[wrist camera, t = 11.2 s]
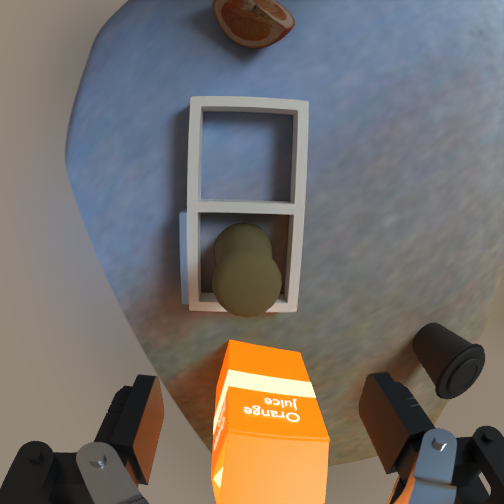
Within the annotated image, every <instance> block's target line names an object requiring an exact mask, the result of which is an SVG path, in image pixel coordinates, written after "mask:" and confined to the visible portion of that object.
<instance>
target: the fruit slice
mask: <svg viewBox="0 0 504 504" xmlns="http://www.w3.org/2000/svg"><path fill="white" fill-rule="evenodd" d="M213 10H214V11H213V12H214V14H215V17H216V20H217V22H218V24H219V26H220V27H221V29H222V30H223V31H224V32H225V34H226V35H227V36H228V37H229V38H230V39H232V40H233V41H234V42H236V43H237V44H239V45H242V46H244V47H249V48H263V47H267V46H270V45H272V44H274V43H276V42H278V41H279V40H281V39H282V38H283V37H285V36H286V35H287V34H288V33H289V32H290V31H291V29H292V28H293V27H294V25H295V21H294V18H293V16H292V15H291V14H290V13H289V11H288V10H287V9H285V8H284V7H283V6H282V5H281V4H279V3H278V2H276V1H275V0H214V2H213Z"/></svg>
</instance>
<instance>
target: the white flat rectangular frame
mask: <svg viewBox="0 0 504 504" xmlns="http://www.w3.org/2000/svg"><path fill="white" fill-rule="evenodd" d="M204 111H223V112H257V113H275V114H288V115H293V143H292V170H291V192H290V202H287V201H262V200H224V199H201V165H202V136H203V114H204ZM308 115H309V101H300V100H290V99H277V98H262V97H237V96H194V97H191V101H190V118H189V140H188V173H187V209H184V210H183V211H181V212H180V213H179V228H180V271H181V294H182V304H188V303H189V311H221V312H228V311H226V310H225V309H224V308H223V307H222V306H221V305H220V304H219V303H218V301H217V299H216V297H215V295H214V293H201V212H223V213H262V214H289V230H288V246H287V261H286V276H285V289H284V294H279V297H278V299H277V300H276V302H275V303H274V305H273V306H272V307H271V308H269V309H268V310H267V311H266V312H297V302H298V291H299V280H300V268H301V256H302V243H303V228H304V213H305V195H306V175H307V151H308Z"/></svg>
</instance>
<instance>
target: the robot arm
mask: <svg viewBox="0 0 504 504" xmlns="http://www.w3.org/2000/svg"><path fill="white" fill-rule="evenodd" d="M418 404H419V403H418V402H417V401H416V399H414V396H413V395H412V394H411V392H410V391H409V389H408V388H406V387H405V386H403V385H402V384H401V383H399V382H396V383H395V382H394V380H393V379H392V377H391V376H390V374H389V373H388V372H381V373H374V374H369V375H368V376H367V379H366V382H365V385H364V388H363V392H362V395H361V398H360V401H359V414H360V417H361V419H362V421H363V424H364V426H365V428H366V430H367V432H368V434H369V436H370V439H371V441H372V443H373V445H374V447H375V449H376V452H377V454H378V456H379V458H380V460H381V462H382V465H383V467H384V469H385V471H386V474H390V473H394V472H398V474H399V477H398V478H397V480H396V483H395V485H394V488H393V491H392V493H391V496H390V498H389V501H388V503H387V504H504V437H503V435H502V434H501V433H500V432H499V431H498V430H497V429H496V428H494V427H491V426H482V427H479V428H478V429H477V430H476V432H475V433H474V434H473V436H472V437H460V438H455V436H454V435H453V434H452V433H451V432H449V431H447V430H445V429H440V428H435V427H434V425H433V424H432V422H431V421H430V419H429V418H428V416H427V415H426V413H425V412H424V411H423V409H422V408H421V406H420V405H418ZM163 418H164V405H163V399H162V394H161V388H160V382H159V378H158V376H148V375H138V376H137V377H136V380H135V382H134V384H133V387H130V386H124V387H123V388H122V389H120V390H119V391H118V392H117V393H116V394H115V397H114V398H113V401H112V404H111V405H110V407H109V409H108V413H106V416H105V418H104V420H103V422H102V425H101V427H100V429H99V431H98V434H97V436H96V438H95V440H94V442H92V443H88V444H86V445H85V446H83V447H82V448H80V450H79V451H78V452H76V453H58V452H56V453H54V452H53V451H52V449H51V448H50V447H49V446H48V445H47V444H45V443H43V442H40V441H31V442H28V443H26V444H24V445H23V446H22V447H21V448H20V449H19V451H18V453H17V455H16V457H15V459H14V461H13V463H12V465H11V467H10V469H9V471H8V473H7V475H6V477H5V480H4V481H3V484H2V486H1V488H0V504H149V503H148V501H147V500H146V499H145V498H144V497H143V496H142V495H141V493H140V491H139V490H138V484H144V485H148V482H149V478H150V473H151V469H152V464H153V460H154V456H155V452H156V447H157V443H158V439H159V435H160V431H161V427H162V423H163ZM481 472H482V473H483V474H484V476H485V478H486V480H487V481H488V483H489V485H490V487H491V494H490V496H489V494H488V492H487V490H486V489H485V487H484V485H483V483H482V481H481V480H480V478H479V476H478V475H479V474H480V473H481Z"/></svg>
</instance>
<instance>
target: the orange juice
mask: <svg viewBox="0 0 504 504" xmlns="http://www.w3.org/2000/svg"><path fill="white" fill-rule="evenodd" d="M329 442H330V439H329V436H328V433H327V431H326V428H325V425H324V422H323V419H322V416H321V413H320V410H319V407H318V404H317V401H316V396H315V393H314V390H313V388H312V385H311V382H310V380H309V378H308V375H307V372H306V369H305V366H304V363H303V360H302V357H301V354H300V353H299V352H293V351H287V350H281V349H275V348H270V347H264V346H259V345H254V344H249V343H243V342H238V341H234V340H229V343H228V347H227V351H226V354H225V358H224V362H223V365H222V369H221V373H220V376H219V380H218V384H217V389H216V404H215V417H214V428H213V453H212V472H211V478H212V484H213V489H214V494H215V499H216V504H324V502H325V492H326V479H327V464H328V446H329Z"/></svg>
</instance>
